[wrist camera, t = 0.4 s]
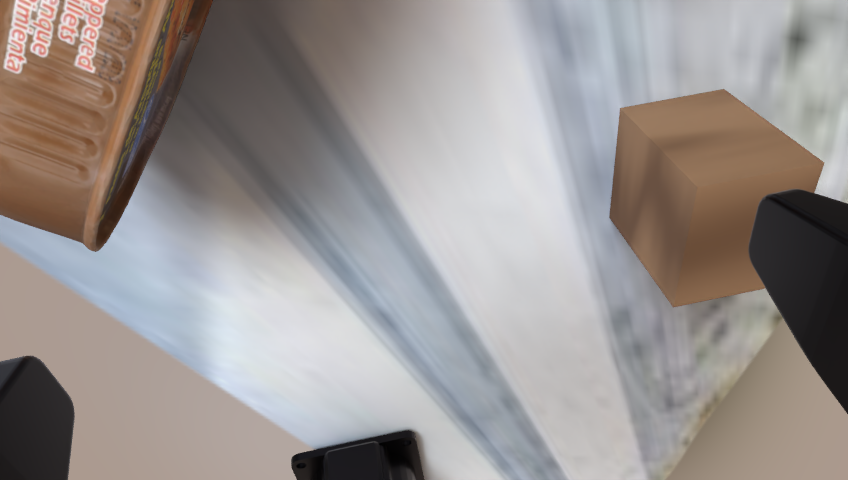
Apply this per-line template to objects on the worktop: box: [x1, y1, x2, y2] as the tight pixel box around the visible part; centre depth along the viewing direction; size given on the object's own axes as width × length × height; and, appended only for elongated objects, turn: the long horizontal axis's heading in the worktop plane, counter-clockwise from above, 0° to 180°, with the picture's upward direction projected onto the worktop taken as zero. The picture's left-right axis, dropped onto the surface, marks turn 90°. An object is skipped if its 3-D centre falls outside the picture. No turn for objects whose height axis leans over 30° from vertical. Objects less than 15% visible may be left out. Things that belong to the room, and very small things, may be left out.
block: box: [610, 89, 824, 307], centre depth 22 cm, size 5×4×6 cm
